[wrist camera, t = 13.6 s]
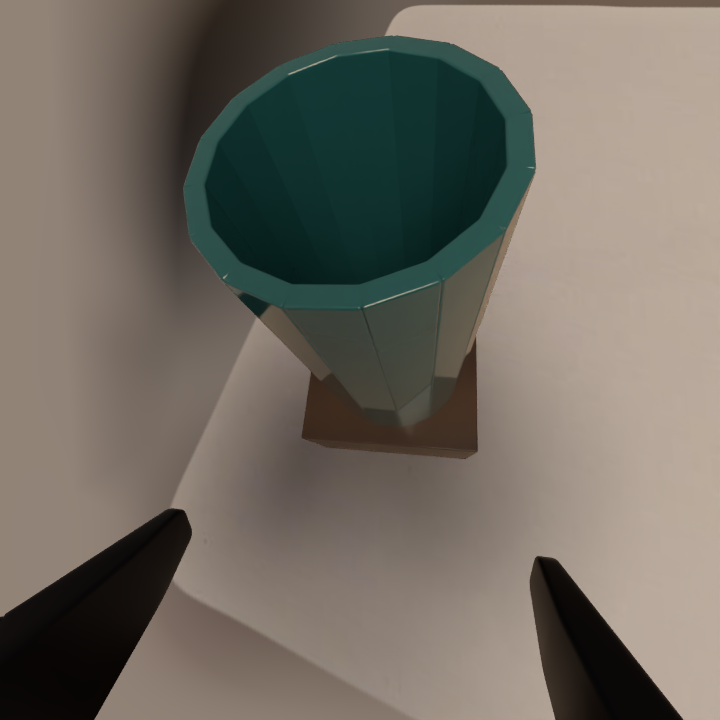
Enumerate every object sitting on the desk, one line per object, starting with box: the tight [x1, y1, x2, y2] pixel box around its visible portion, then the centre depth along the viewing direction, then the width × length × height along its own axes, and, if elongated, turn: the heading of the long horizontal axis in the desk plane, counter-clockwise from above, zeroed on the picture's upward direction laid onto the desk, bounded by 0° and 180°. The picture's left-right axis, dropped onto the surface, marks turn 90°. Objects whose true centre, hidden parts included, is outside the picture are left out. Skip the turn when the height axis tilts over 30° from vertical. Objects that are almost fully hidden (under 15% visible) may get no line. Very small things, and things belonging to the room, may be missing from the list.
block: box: [302, 337, 478, 459], centre depth 21 cm, size 9×9×5 cm
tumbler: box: [183, 36, 536, 427], centre depth 13 cm, size 7×7×13 cm
